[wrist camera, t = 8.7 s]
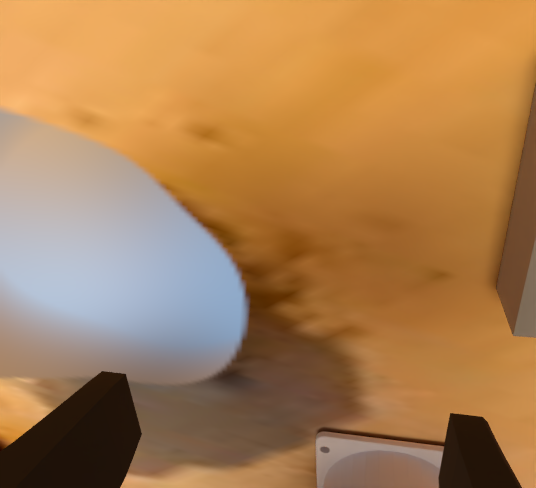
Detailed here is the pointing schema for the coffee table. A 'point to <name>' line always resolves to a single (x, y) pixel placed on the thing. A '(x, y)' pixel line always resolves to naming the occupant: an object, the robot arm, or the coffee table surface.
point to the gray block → (521, 244)
